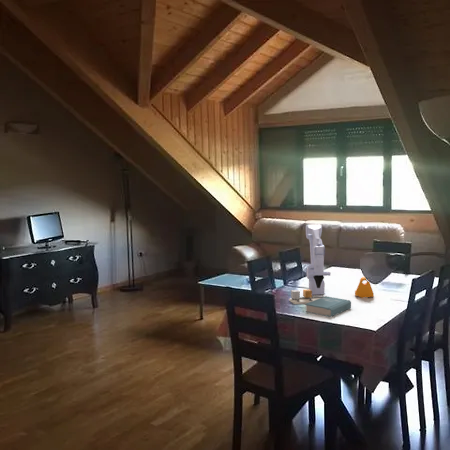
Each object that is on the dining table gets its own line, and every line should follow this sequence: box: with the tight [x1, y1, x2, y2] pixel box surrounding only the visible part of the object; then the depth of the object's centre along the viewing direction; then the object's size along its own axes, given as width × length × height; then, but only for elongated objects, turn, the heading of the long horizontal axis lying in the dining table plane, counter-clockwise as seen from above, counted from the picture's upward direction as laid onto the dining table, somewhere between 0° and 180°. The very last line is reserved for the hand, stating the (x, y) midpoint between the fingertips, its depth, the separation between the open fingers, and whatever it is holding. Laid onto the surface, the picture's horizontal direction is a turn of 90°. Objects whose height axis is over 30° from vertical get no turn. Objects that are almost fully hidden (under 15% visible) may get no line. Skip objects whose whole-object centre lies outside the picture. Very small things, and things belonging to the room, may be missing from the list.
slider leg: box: [302, 288, 313, 300], centre depth 328 cm, size 4×7×5 cm, turn 14°
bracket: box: [354, 276, 375, 298], centre depth 341 cm, size 11×7×12 cm, turn 79°
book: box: [305, 295, 352, 318], centre depth 308 cm, size 23×16×5 cm
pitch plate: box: [288, 289, 325, 305], centre depth 328 cm, size 22×9×6 cm, turn 104°
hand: (318, 287), depth 333 cm, fingers closed
